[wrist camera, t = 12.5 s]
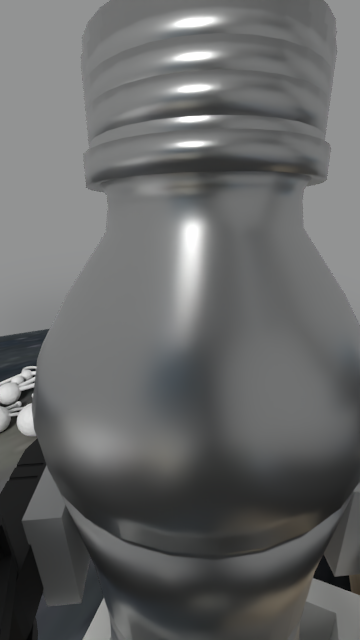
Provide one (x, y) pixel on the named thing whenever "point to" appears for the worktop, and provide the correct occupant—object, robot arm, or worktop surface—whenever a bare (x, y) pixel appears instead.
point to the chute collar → (316, 622)
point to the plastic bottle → (204, 323)
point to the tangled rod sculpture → (11, 394)
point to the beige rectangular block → (355, 583)
